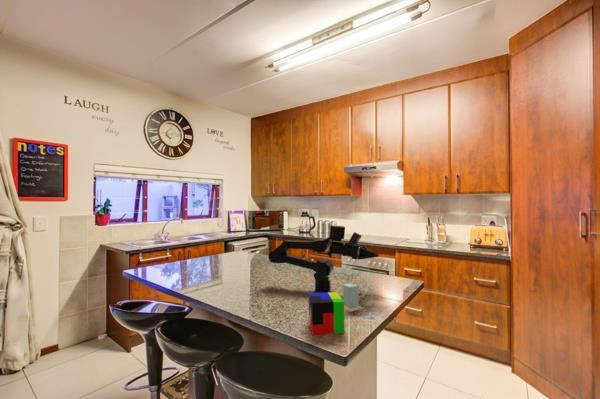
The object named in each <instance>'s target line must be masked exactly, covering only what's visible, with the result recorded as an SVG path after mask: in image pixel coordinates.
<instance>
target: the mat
mask: <svg viewBox="0 0 600 399" xmlns="http://www.w3.org/2000/svg"><path fill="white" fill-rule="evenodd" d="M341 298H342V297H341ZM342 300H343V301H344V297H343V298H342ZM365 309H366V307H363V306H362V305H359V310H355V311H348V310H346V309H345V308H344V315H345V314H349V313H353V312H357V311H362V310H365Z"/></svg>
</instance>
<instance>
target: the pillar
mask: <svg viewBox="0 0 600 399" xmlns="http://www.w3.org/2000/svg"><path fill="white" fill-rule="evenodd" d="M343 298H344V308H345V309H346V310H348V311H353V312H356V311H355V310H358V311H360V310H359V306H360V305H359V302H360V301H359V285H358V284H355V283H351V282H350V283H346V284H343Z"/></svg>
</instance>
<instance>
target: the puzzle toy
mask: <svg viewBox="0 0 600 399" xmlns="http://www.w3.org/2000/svg"><path fill="white" fill-rule="evenodd" d="M308 322H309V326H310V329H311V334H312V336H327V334H341V333H342V334H343V333H346V332H345V314H344V301H343V300H342V297H341V296H340V294H339V292H338V291H337V292H336V291H334V292H332V291H331V292H330V291H329V292H328V293H324V292H309V293H308Z"/></svg>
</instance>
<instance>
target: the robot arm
mask: <svg viewBox="0 0 600 399" xmlns="http://www.w3.org/2000/svg"><path fill="white" fill-rule="evenodd" d="M345 233H346V227H345V226H344V225H330V226H329V236H328V237H326V238H321V239H315V240H290V239H286V240H283V241H282V242H281V243H280V245H279V246H277V247H276V248H275V249H274V250H271V251H270V252H269V253H268V260H269V262H271V263H272V264H288V265H291V266H292V265H293V266H295V267H300V268H304V269H307V270H311V271H313V272H314V273H313V276H314V277H313V278H314V281H315V282H314V286H315V288H314V290H313V291H314V292H313V293H328V292H330V290H332V289H331V288H332V283H331V282H332V280H331V279H330V275H331V273H333V271H334V268H335V267H334V264H333V262H332V261H329V259H330V258H333V256H334V255H339V256H343V257H347V258H348V257H349V258H351V259H352V260H357V261H358V260H366V259H367V260H368V259H372V258H378V257H379V256H380V254H379V253H377V252H374V251H371V250H369V249H368V248H367V247H366V246H365V245H360V244H358V243H359V241H360V239H361V238H362V234H360V233H357V232H356V231H354V232H353V233H352V235H351V236H350V238H349V241H348V242H342V241H343V240H344V239H345ZM289 249H290V250H310V251H313V252H316V253H320V254H321V253H324V252H327V253H326V254H327V256H328V257H329V259H325V258H324V257H320V258H318V259H317V260H312V259H309V258H305V257H300V256H296V255H292V254H289V253H288V251H289Z"/></svg>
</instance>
